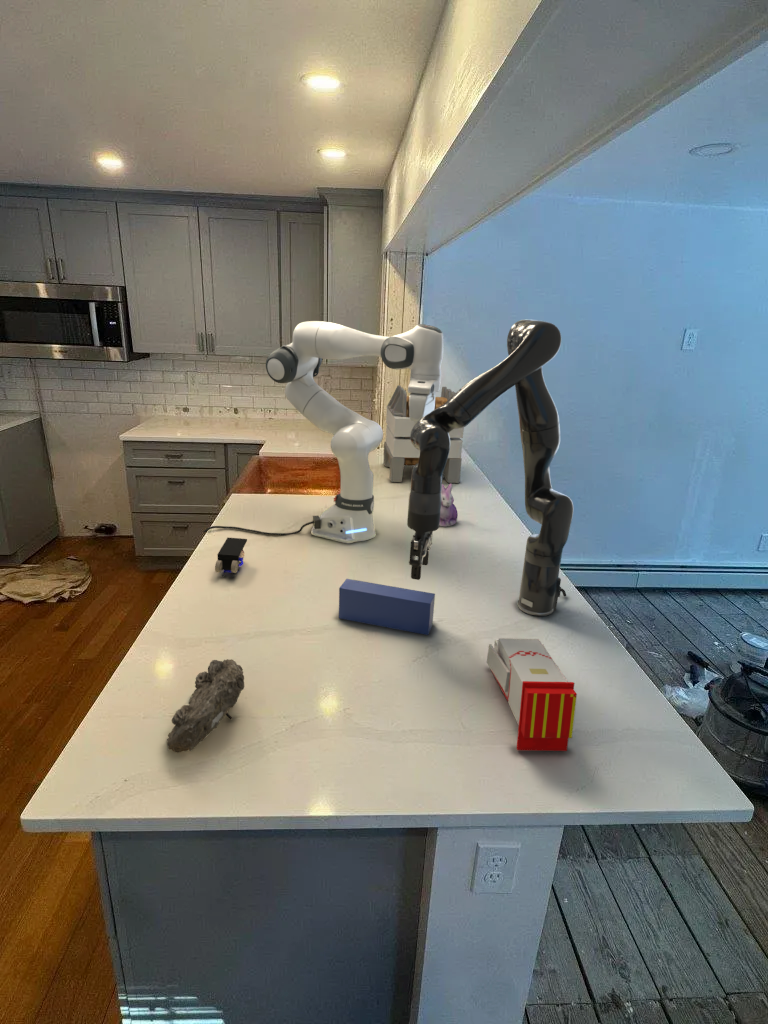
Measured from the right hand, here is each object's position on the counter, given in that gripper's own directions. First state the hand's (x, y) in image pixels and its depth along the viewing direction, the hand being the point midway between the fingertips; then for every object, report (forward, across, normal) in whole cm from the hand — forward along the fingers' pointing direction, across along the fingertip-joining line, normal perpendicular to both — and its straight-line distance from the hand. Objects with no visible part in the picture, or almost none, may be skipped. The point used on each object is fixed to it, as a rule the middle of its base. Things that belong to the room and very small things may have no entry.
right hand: (419, 571), depth 137 cm
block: (+15, 0, +8) cm, 17 cm away
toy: (+15, -21, -27) cm, 38 cm away
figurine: (+15, +76, +6) cm, 78 cm away
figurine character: (+16, +13, +58) cm, 62 cm away
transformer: (+15, +138, +30) cm, 142 cm away
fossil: (+16, -45, +29) cm, 56 cm away
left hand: (-26, +41, +10) cm, 50 cm away
